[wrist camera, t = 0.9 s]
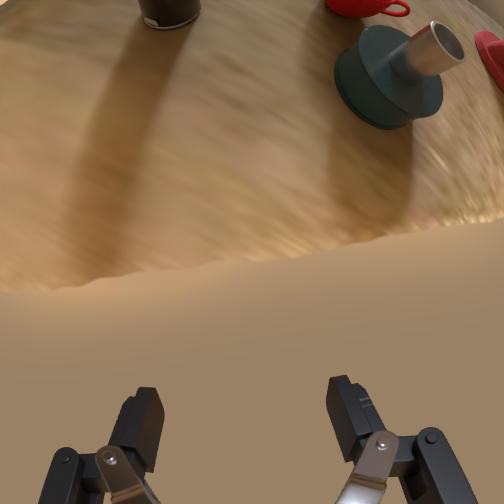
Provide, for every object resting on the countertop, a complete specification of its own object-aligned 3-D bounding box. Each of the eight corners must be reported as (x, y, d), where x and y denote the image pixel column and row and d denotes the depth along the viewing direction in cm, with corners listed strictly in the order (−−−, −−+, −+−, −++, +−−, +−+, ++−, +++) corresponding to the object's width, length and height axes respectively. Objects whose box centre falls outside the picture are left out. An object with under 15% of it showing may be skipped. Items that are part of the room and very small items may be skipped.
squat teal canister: (324, 42, 34) (345, 14, 25) (400, 57, 35) (426, 39, 27) (344, 127, 36) (373, 110, 28) (420, 133, 38) (453, 124, 29)
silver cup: (384, 46, 26) (424, 14, 17) (414, 55, 27) (455, 30, 17) (395, 81, 27) (442, 54, 18) (425, 89, 28) (472, 68, 18)
